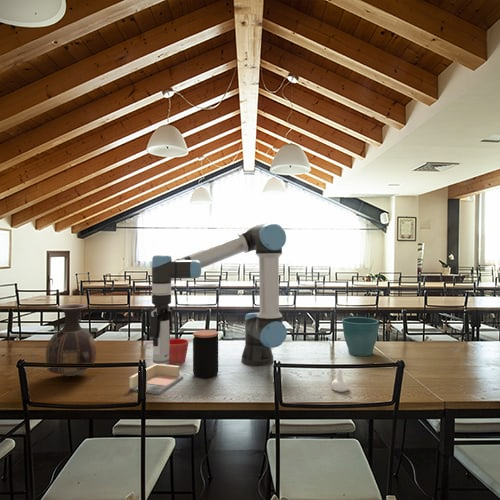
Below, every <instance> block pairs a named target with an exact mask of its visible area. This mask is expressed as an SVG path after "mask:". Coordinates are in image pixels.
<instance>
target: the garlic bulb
mask: <svg viewBox="0 0 500 500" xmlns="http://www.w3.org/2000/svg"><path fill="white" fill-rule="evenodd" d="M337 372H338V373H337V377H336V378H335V379H333V380H332V382H331V389H332V390H333V391H335V392H338V393H344V392H347V391H348V390H349V383H348V381H346V379H344V378H343V371H342V368H339V369H338V371H337Z"/></svg>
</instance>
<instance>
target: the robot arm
mask: <svg viewBox="0 0 500 500" xmlns="http://www.w3.org/2000/svg"><path fill="white" fill-rule="evenodd" d="M286 241H287V234H286V231H285V229H284V228H283V227H282V226H281V225H279V224H278V223H274V222H273V223H271V222H268V223H262V224H258V225H255V226H253V227H250V228H248V229H246V230H245V231H242V232H240V233H238V234H237V236H235V237H232V238H230V239H228V240H225V241H223V242H221V243H218V244H217V243H216V244H214V245H211V246H209V247H207V248H204V249H202V250H198V251H197V252H194V253H192V254H189V255H187V256H186V255H185V256H184V257H181V258H177V259H172V256H171V255H167V254H166V255H162V254H161V255H159V254H158V255H157V254H156V255H154V256H153V257H152V259H151V293H152V295H151V304H153V305H154V308H153V310H152V311H151V310H150V311H149V330H148V331H149V335H148V336H149V338H152V355H153V354H157V355H160V337H159V333H160V321H161V320H162V317H161V318H160V319H158V320H157V315H160V314H165V313H167V312H168V311H170V313H169V334H172V333H173V331H174V329H173V328H174V327H173V325H174V324H173V309H174V307H172V306H170V304H171V303H172V279H174V280H175V279H177V280H178V279H199V278H200V277H201V275H202V269H203V268H205V267H208V266H210V265H214V264H216V263H219V262H221V261H223V260H226V259H229V258H231V257H233V256H236V255H238V254H241V253H245V254H247V253H249V252H252V251H255V255H256V256H257V257H258V260H259V262H258V264H259V265H258V266H259V269H258V271H259V272H258V273H259V277H258V278H259V280H258V281H259V312H249V313H246V314H245V315H244V316H245V317H244V318H245V320H244V328H245V329H244V333H245V337H244V338H245V339H244V340H245V341H244V342H245V343H244V348H243V352H242V355H241V362H242V363H243V364H245V365H250V366H267V365H271V364H273V362H274V353H273V352H272V348H273V349H274V348H278V347H280V346H281V345H282V344H283V343H284V342H285V341H286V339H287V336H288V335H287V334H288V330H287V327H286V326H285V324H284V323H283V314H282V312H280V287H279V286H280V285H279V282H280V277H279V275H280V272H279V271H280V269H279V268H280V265H279V264H280V263H279V258H280V257H281V256H282V255H283V247H284V246H285V244H286V243H287V242H286Z"/></svg>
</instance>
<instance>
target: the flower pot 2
mask: <svg viewBox="0 0 500 500" xmlns="http://www.w3.org/2000/svg"><path fill="white" fill-rule="evenodd" d="M341 322H342V330H343V331H342V332H343V336H344V337H343V338H344V341H345V344H346V347H347V351H348V353H349V354H350V355H352V356H358V357H369V356H372V355H373V353H374V348H375V346H376V343H377V339H378V332H379V331H378V330H379V329H378V328H379V322H380V321H379V320H378V319H375V318H371V317H370V318H369V317H361V316H360V317H357V316H355V317H352V316H351V317H345V318H343V319H341Z"/></svg>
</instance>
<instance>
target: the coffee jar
mask: <svg viewBox="0 0 500 500" xmlns="http://www.w3.org/2000/svg"><path fill="white" fill-rule="evenodd" d="M192 335H193V338H192V374H193V375H194V377H195V378H196V379H197V378H198V379H201V380H202V379H203V380H204V379H205V380H206V379H212V378H215V377H217V375H218V373H219V337H218V335H219V331H216V330H213V329H202V330H196V331H193V333H192Z"/></svg>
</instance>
